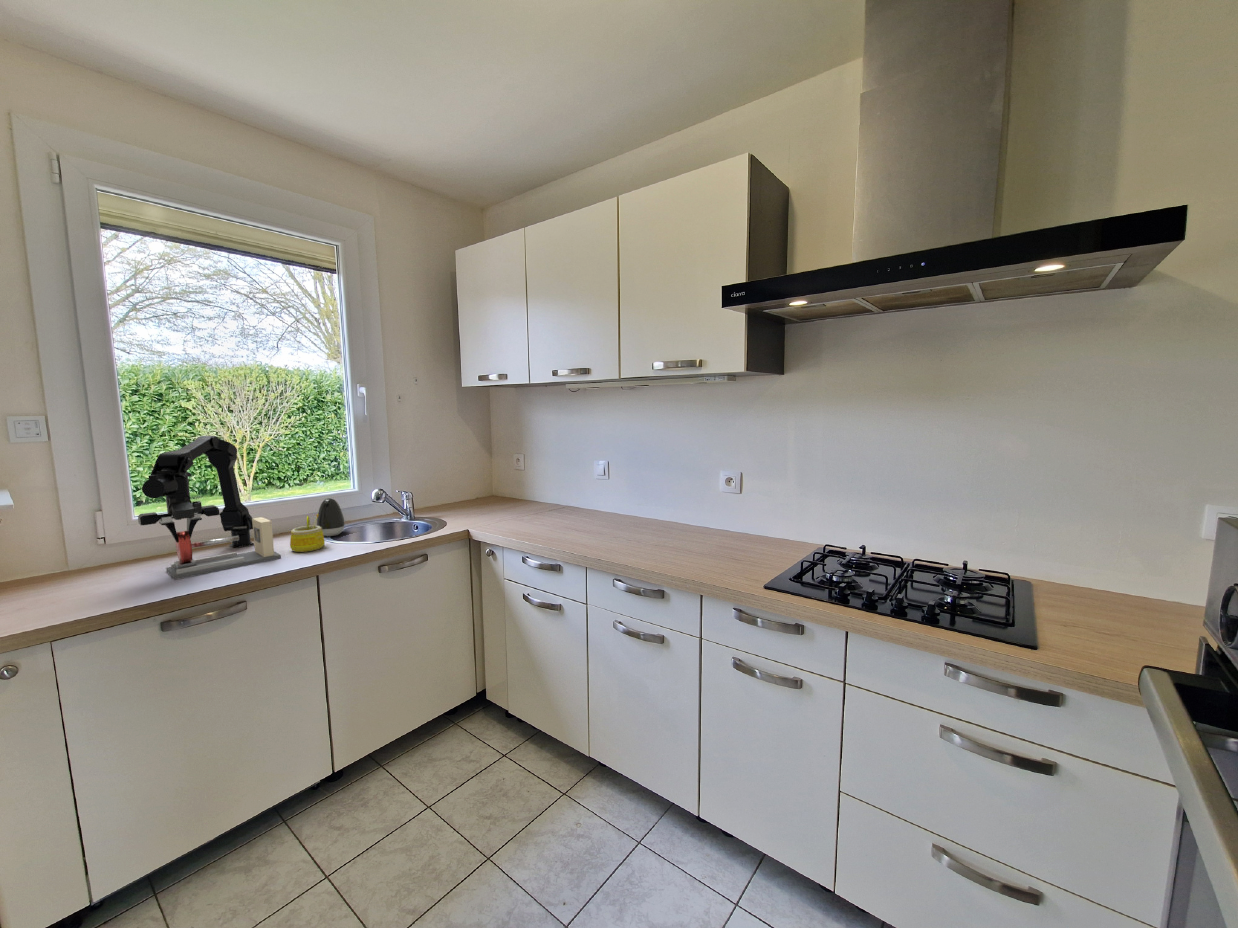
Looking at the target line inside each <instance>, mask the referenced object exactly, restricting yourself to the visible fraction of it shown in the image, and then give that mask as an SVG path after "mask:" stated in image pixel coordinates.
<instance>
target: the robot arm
mask: <svg viewBox="0 0 1238 928" xmlns="http://www.w3.org/2000/svg"><path fill="white" fill-rule="evenodd" d="M202 455H205V456H207V459H208V462H209V464H210V465H211V466H213V467H214V468H215V470H216V472H217V477H218V481H219V486H220V490H221V495H222V500H223V504H224V507H223V509H222V511H220V508H219V507H217V506H216V505H215V504H214V505H213V504H210V505H203V506H202V501H201V500H195V501H191V493H190V491H191V490H190V485H189V484H190V483H189V477H192V475H193V474H192V473H191V472H188V471H189V469H190V468H192V466H193V465H194V461H195V460H196V459H197V458H199V457H201V456H202ZM237 460H238V448H237V447H236V446H235V445H234V444H232V443H231V442H229V441H227V440H224V439H220V438H219V437H218V436H215V435H199V436H198V437H197V438H196V439H195V440H193V441H191V442H189V443H187V444H186V445H184V446H182V447H180V448H179V449H176V450H170V451H165V452H163V453H160V454H159V455H158V456H157V458H156V461H155V463H154V465H153V468H152V470H151V472H150V475H148V479H147V480H146V481H145V482H143V484H142V486H141V492H142V493H143V495H145V496H146V497H147V498H149V499H158V498H162V497H165V503H166V512H167V513H159V514H158V513H157V512H145V513H140V514H138V515H137V521H138V525H140V526H148V525H155V524H157V523H159V525H161V526H165V527H166V528H167V529H168V530H169V532H170V534H171V535H172V538H173V539H174V542H175V541H176V542H177V543H178V536H177V532H178V531H177V529H176V526H175V521H174V520H176V521H179V520H183V519H186V531H188V533H189V536H190V540H191V538H192V535H193V532H194V529H195V526H196V524H197V523H198V522H199V521H202V520H203V518H202V515H204V516H206V517H214V516H215V517H217V516H219V518H220V523H221V525H222V529H223V531H224V532H230V537H233V536H239V540H238V541H232V542H231V543H228V545H229V547H231V548H232V549H235V548H236V549H237V548H243V547H248V546H253V545H254V546H255V544H254V542H253V541H252V540H251V538H252V537H251V530H253V523H252V519H253V517H252V515H251V514H250V511H249V508H247V507H246V505H245V504H243V503H242V501H241V495H240V492H239V487H238V482H237V477H236V473H235V468H234V465H235V463H236V462H237Z"/></svg>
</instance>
